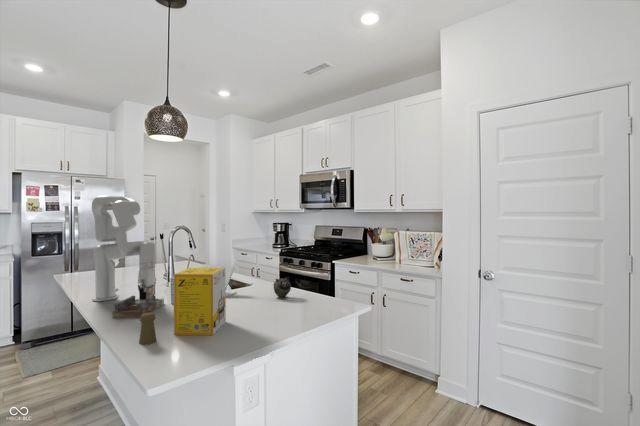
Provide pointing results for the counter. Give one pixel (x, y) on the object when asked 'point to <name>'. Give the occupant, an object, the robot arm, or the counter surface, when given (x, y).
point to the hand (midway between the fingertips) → (147, 297)
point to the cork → (147, 329)
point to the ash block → (149, 292)
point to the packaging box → (199, 301)
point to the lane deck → (136, 307)
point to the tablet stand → (228, 275)
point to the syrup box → (172, 289)
